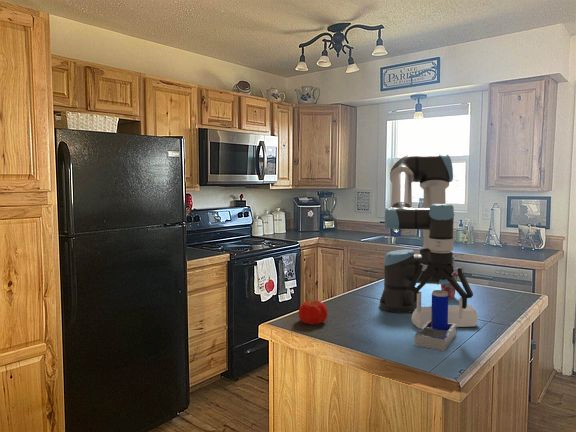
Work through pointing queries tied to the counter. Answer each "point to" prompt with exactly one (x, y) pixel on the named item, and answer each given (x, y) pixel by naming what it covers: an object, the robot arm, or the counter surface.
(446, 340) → the divided tray
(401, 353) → the counter surface
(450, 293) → the cup
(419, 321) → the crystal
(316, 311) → the tomato
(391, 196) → the robot arm
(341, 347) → the counter surface
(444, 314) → the beverage can
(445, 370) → the counter surface
